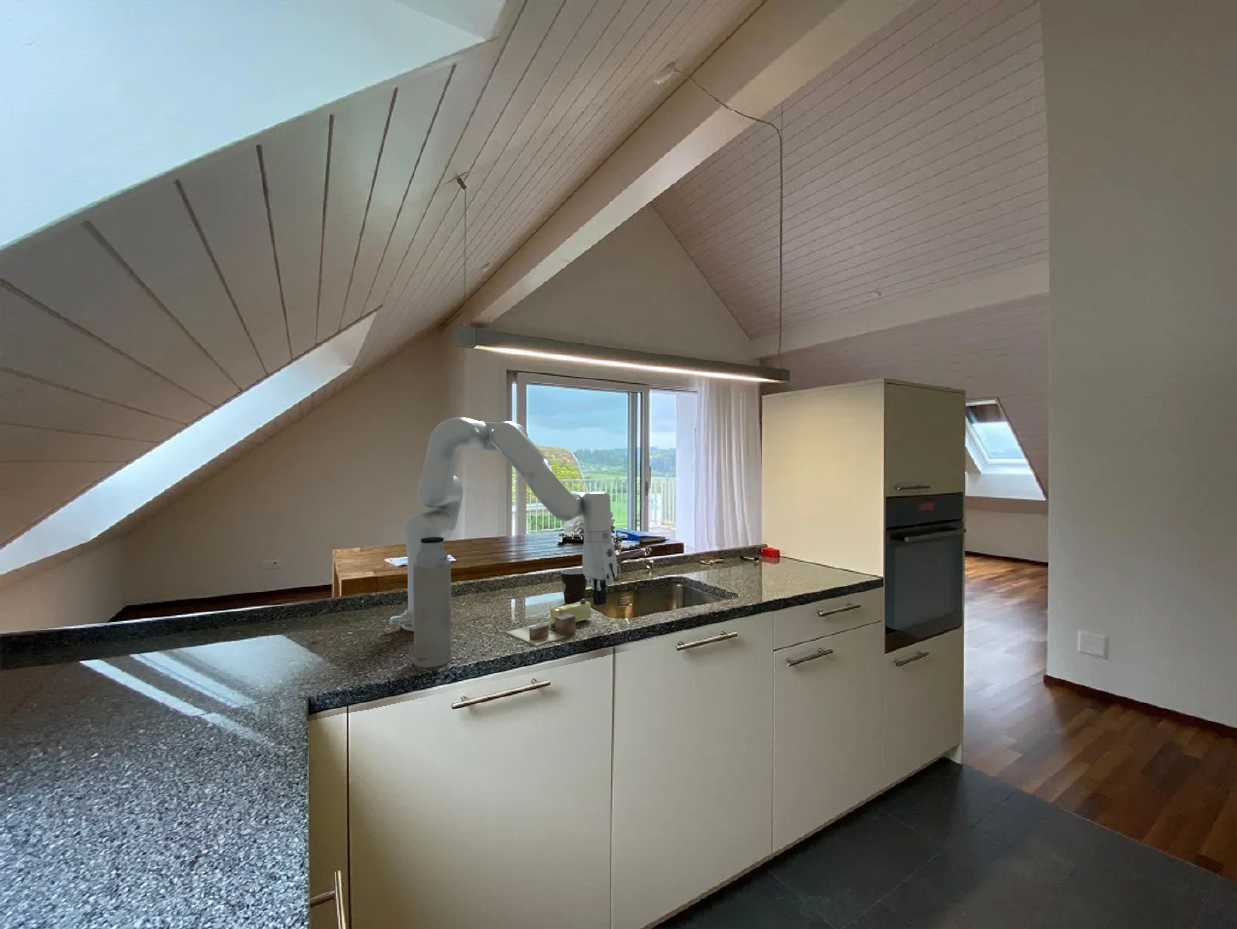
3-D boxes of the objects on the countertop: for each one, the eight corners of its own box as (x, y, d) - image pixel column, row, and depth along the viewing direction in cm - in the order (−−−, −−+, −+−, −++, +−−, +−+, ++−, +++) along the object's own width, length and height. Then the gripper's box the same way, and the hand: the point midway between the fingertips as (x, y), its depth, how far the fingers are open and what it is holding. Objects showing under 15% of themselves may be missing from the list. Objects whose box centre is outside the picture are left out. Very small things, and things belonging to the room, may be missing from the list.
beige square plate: (536, 646, 124) (536, 645, 124) (506, 633, 134) (506, 632, 134) (581, 632, 134) (581, 631, 134) (550, 621, 144) (550, 620, 144)
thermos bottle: (406, 663, 114) (405, 538, 114) (435, 652, 121) (434, 534, 121) (430, 670, 110) (429, 541, 110) (458, 658, 117) (457, 536, 117)
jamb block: (562, 636, 131) (562, 619, 131) (555, 633, 133) (555, 617, 133) (575, 632, 134) (575, 615, 134) (568, 630, 136) (568, 613, 136)
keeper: (533, 642, 127) (533, 629, 127) (529, 640, 128) (529, 627, 128) (548, 637, 130) (548, 625, 130) (544, 636, 132) (544, 623, 132)
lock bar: (555, 628, 136) (554, 608, 136) (548, 625, 138) (547, 605, 138) (590, 618, 145) (590, 599, 145) (583, 616, 147) (583, 597, 147)
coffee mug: (586, 605, 160) (586, 574, 160) (559, 606, 160) (559, 574, 160) (589, 596, 171) (589, 566, 172) (564, 596, 172) (563, 567, 172)
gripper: (626, 537, 136) (628, 606, 136) (591, 533, 147) (593, 596, 147) (604, 540, 131) (607, 612, 131) (570, 536, 142) (572, 602, 142)
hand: (599, 603), depth 139 cm, fingers closed
